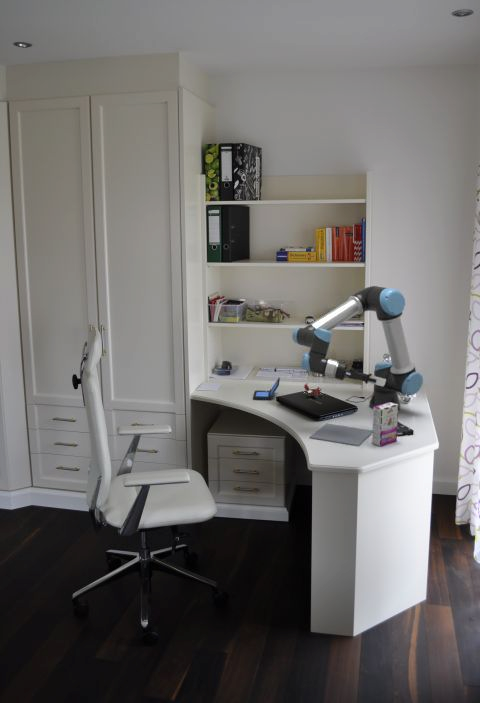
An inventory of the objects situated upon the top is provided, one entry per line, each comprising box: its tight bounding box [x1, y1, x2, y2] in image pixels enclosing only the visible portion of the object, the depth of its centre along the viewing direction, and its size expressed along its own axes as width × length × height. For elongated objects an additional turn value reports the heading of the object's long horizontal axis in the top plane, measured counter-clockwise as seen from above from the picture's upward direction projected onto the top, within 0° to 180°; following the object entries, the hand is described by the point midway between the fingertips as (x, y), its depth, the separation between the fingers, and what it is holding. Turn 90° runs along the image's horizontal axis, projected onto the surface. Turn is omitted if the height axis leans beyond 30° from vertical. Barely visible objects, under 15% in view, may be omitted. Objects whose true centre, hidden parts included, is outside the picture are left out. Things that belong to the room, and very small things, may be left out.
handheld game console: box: [252, 377, 281, 402], centre depth 356 cm, size 16×13×9 cm
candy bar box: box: [371, 402, 399, 447], centre depth 284 cm, size 11×5×16 cm, turn 129°
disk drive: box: [397, 421, 414, 437], centre depth 302 cm, size 10×3×15 cm
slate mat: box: [308, 422, 373, 447], centre depth 295 cm, size 22×22×1 cm
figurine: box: [303, 382, 324, 395], centre depth 355 cm, size 15×12×7 cm
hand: (384, 382), depth 288 cm, fingers open, 13 cm apart
